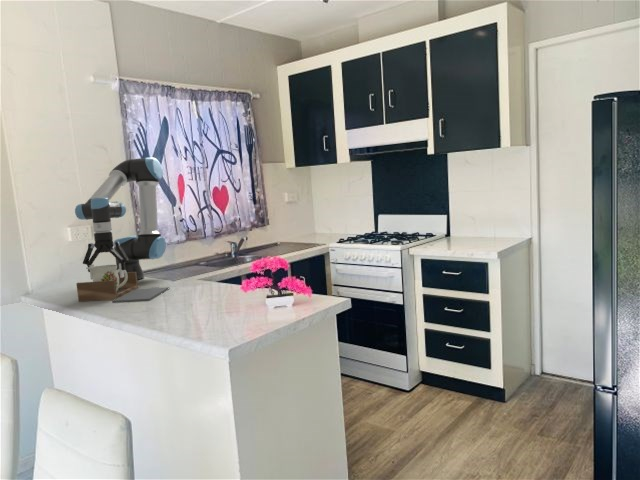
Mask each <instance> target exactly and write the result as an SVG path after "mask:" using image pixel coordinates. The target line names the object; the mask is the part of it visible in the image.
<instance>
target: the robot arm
mask: <svg viewBox="0 0 640 480" xmlns="http://www.w3.org/2000/svg"><path fill="white" fill-rule="evenodd" d="M163 175H164V170H163V166H162V164H161V162H160V161H159V160H158V159H157V158H155V157H142V158H141V157H140V158H129V159H126V160H124V161H122V162H120V163H118V164H117V165H116V166H115V167H113V169H112V170H111V171H110V172H109V173H108V177H107V179H105V180H104V182H103V183H102V184H101V185H100V186H99V187H98V189H97V190H96V191H95V192H94V193H93V194H92V195H91V197H89V199H88V200H86V202H85V203H79V204H77V205H76V206H75V209H74V213H75V216H76V218H78V220H84V221H85V220H86V221H87V220H89V221H90V220H92V228H93V232H94V234H93V238H94V243H93V242H90V243H88V244H87V250H86V253H85V255H84V258H83V261H82V264H83V265H87V268H88V267H95V264H93V263H94V261H95V260H96V259H97V258H98V256H99V254H102V253H110V254H111V255H112V256H113V257H114V258H115V265H117V270H118V269H119V271H120V272H119V273H120V278H123V277H124V270H126V272H137V279H140V280H142V279H141V278H143V279H145V273H144V271H143V269H142V267H141V264H140V261H142V260H143V261H144V260H156V259H161V258H163V256H164V254H165V252H166V248H167V244H166V243H167V242H166V240H165V239H166V238H164V237H162V234H161V232H159V228H158V226H159V225H158V208H157V207H158V206H157V205H158V204H157V186H159V184H160V182H159V181H160V180H161V179H162V178H163ZM130 182H135V184H136V185H137V186H138V195H139V198H138V199H139V218H140V221H139V223H140V231H139V233H138V234H137V235H131V236H127V237H126V236H125V237H121V238H116V239H115V240H113V232H112V227H113V226H112V220H111V219H117V218H122V217H124V216H125V215H126V212H127V208H126V205H125V204H124V203H123V202H122V201H121V202H120V201H110V200H111V199H112V198H113V197H114V196H115V194H116V193H117V192H118V191H119V190H120V188H121V187H123V186H125V185H126V184H127V183H130ZM94 248H95V250H94ZM93 251H94V253H93ZM92 253H93V254H92ZM87 272H88V273H89V275H90V280H92V281H93V273H92V272H91V271H90V270H89V269H87Z"/></svg>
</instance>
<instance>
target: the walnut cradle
mask: <svg viewBox="0 0 640 480" xmlns="http://www.w3.org/2000/svg"><path fill="white" fill-rule="evenodd" d="M127 274H128V279H127V282H126V284H125V285H124V286H122V287H120V288H118V290H117V292H118V291H120V292H118V293H117V292H116V283H115V281H98V282H93V281H85V282H84V281H83V282H76V290H77V299H78V302H91V301H92V302H93V301H109V300H111V301H113V300H115V299H117V298H119V297H121V296H123V295H125V294H127V293H129V292H131V291H133V290H135V289H139V283H138V280H137V272H127ZM118 275H119V285H120V284H121V283H122V282H123V281H124V280H125V274H124V277H123V278H120V273H118ZM120 289H125V290H120Z"/></svg>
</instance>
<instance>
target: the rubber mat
mask: <svg viewBox="0 0 640 480" xmlns="http://www.w3.org/2000/svg"><path fill="white" fill-rule="evenodd" d="M168 288H169V289H170V286H169V287H168V286H166V287H165V286H164V287H151V288H150V287H148V288H137V289H135V290H133V291H131V292H129V293H127V294H125V295H123V296H121V297H119V298H117V299H112V300H111V302H112V304H113V303H115V304H116V303H127V302H128V303H129V302H146V301H147V302H149V301H152V300H153V299H155V298H156V297H159V296H160V295H162V294H163V293H165V292H166V290H167V289H168ZM169 289H168V290H169ZM168 290H167V291H168ZM164 291H165V292H164ZM161 293H162V294H161Z"/></svg>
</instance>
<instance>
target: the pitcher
mask: <svg viewBox="0 0 640 480" xmlns="http://www.w3.org/2000/svg"><path fill="white" fill-rule="evenodd" d="M85 268H86V270H88V269H89V270H90V271H91V272H92V273H93V280H92V282H98V281H115V283H116V292H118V291H119V290H118V288H120V287H122V286H124V285H125V284H126V282H127V279H128V274H127V272H126V270H124V274H125V280H124V281H123V282H122V283H121V284H120V285H119V275H118V273H119V272H120V271H119V269H118V270H117V265H116V264H107V265H106V264H104V265H103V264H102V265H96V266H95V265H94V267H88V266H87V267H85Z"/></svg>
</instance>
